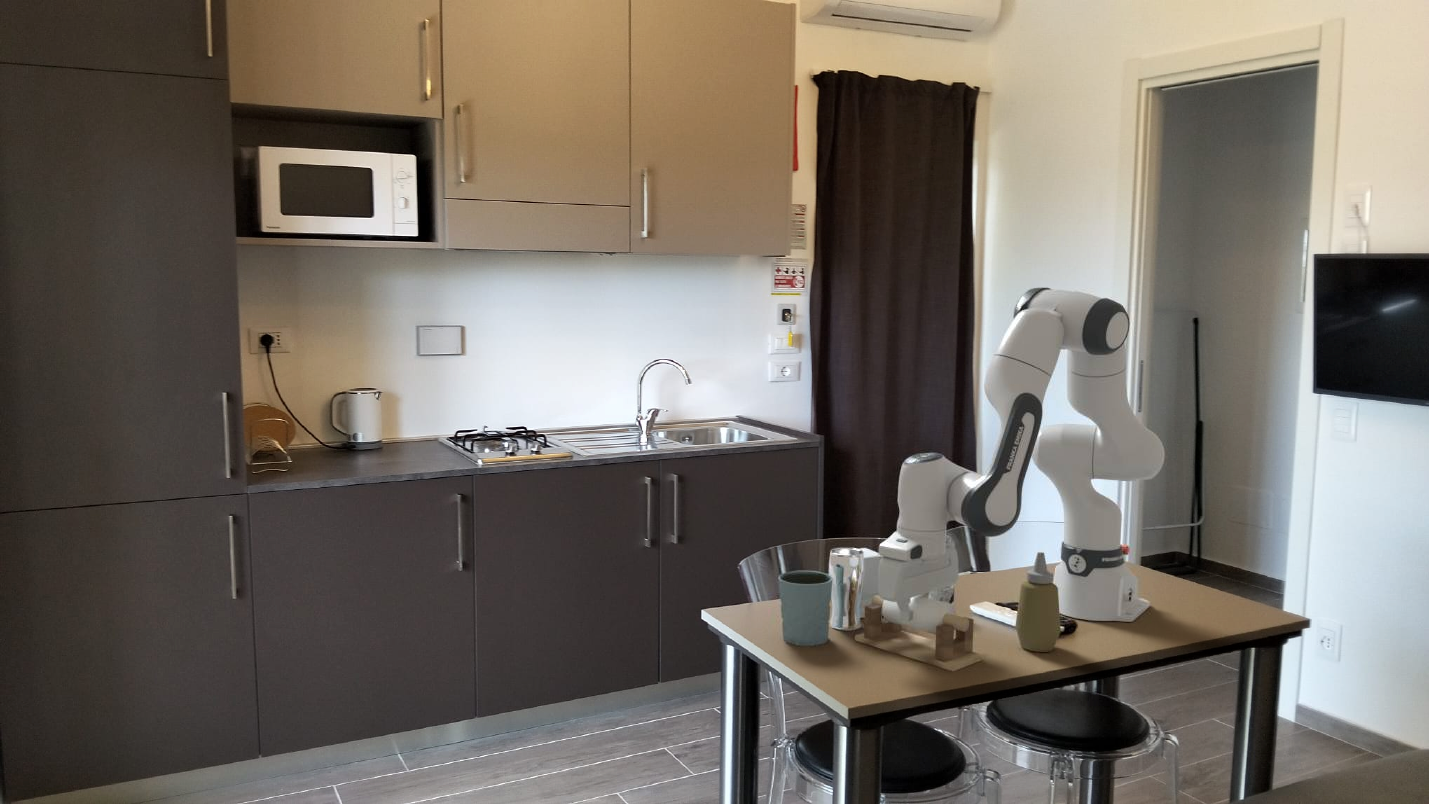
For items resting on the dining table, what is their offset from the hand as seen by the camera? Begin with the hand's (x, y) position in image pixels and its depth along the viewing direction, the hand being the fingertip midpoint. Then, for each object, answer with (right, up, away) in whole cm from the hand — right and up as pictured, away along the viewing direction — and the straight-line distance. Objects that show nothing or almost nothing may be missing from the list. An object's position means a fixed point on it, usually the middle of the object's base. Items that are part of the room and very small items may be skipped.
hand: (918, 616), depth 193 cm
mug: (+8, -5, +23) cm, 25 cm away
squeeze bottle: (+23, -7, +3) cm, 24 cm away
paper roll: (0, -2, 0) cm, 2 cm away
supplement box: (-8, -4, +24) cm, 25 cm away
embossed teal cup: (-20, -6, +7) cm, 22 cm away
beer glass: (-12, -5, +15) cm, 19 cm away
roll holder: (0, -6, +1) cm, 6 cm away
